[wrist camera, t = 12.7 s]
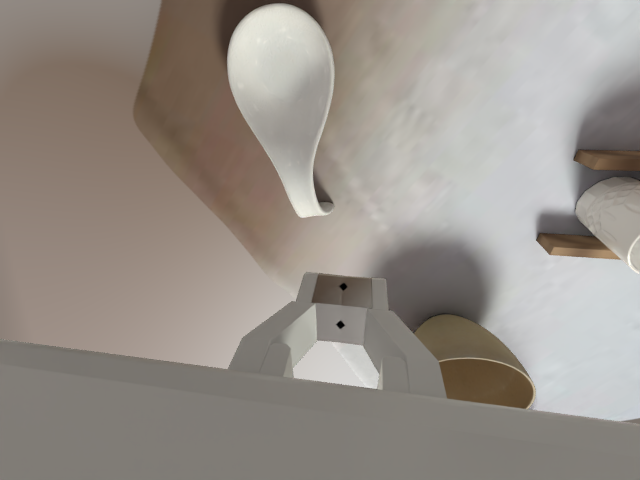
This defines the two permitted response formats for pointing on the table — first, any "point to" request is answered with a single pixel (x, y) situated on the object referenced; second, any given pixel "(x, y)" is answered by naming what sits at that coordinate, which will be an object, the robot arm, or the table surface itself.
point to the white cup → (614, 216)
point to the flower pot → (476, 363)
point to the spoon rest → (284, 92)
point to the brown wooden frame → (590, 244)
